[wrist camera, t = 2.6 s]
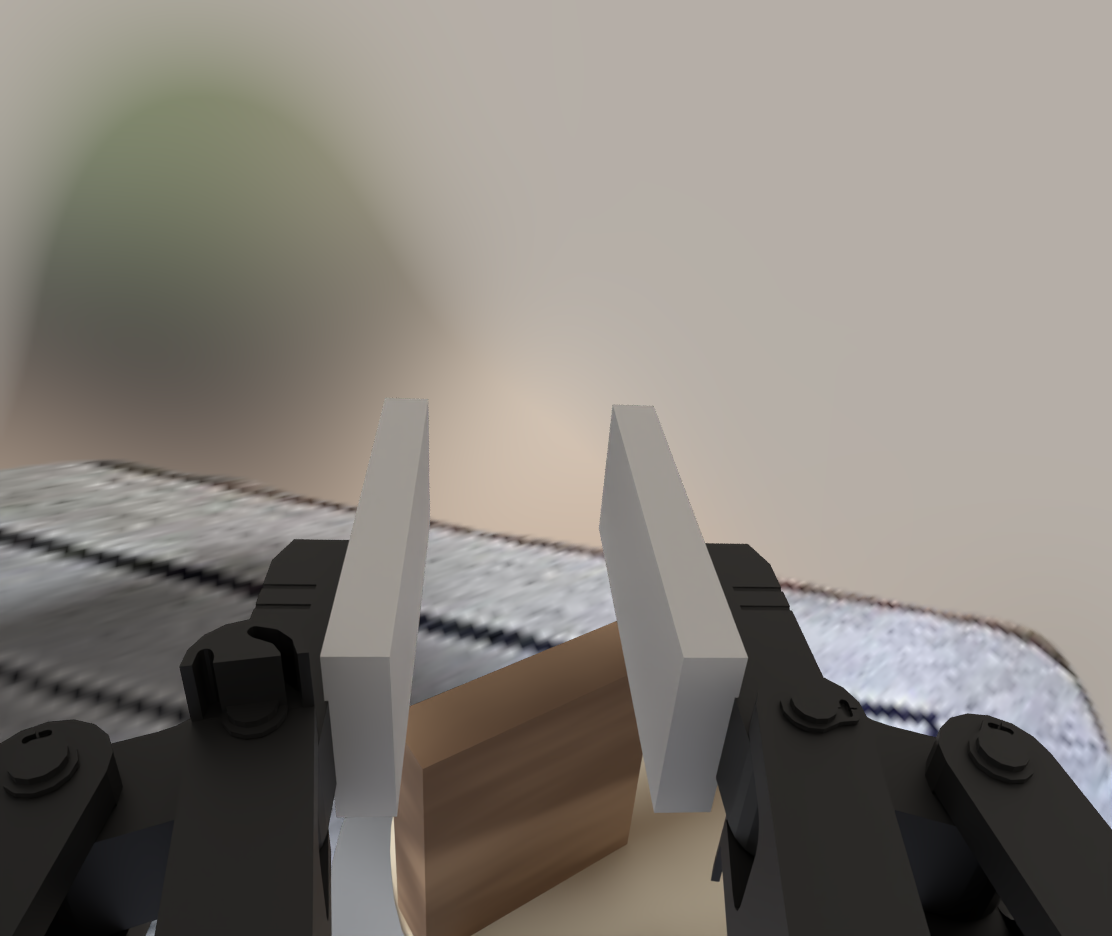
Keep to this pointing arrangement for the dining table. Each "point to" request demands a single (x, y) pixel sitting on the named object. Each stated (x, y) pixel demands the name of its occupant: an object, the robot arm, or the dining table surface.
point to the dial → (546, 810)
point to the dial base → (363, 880)
